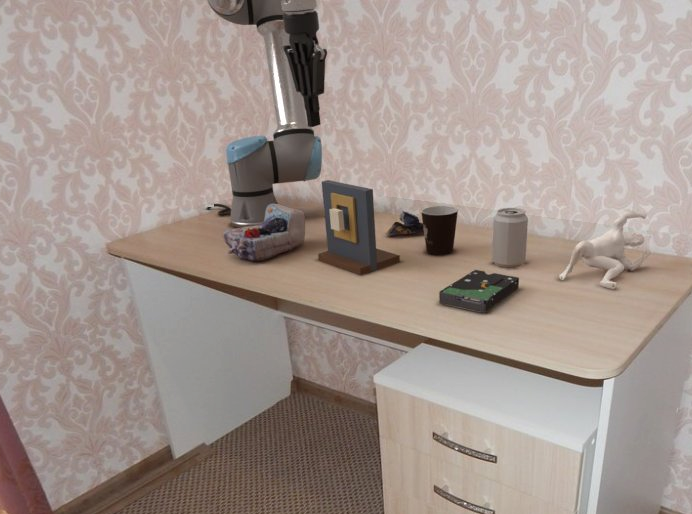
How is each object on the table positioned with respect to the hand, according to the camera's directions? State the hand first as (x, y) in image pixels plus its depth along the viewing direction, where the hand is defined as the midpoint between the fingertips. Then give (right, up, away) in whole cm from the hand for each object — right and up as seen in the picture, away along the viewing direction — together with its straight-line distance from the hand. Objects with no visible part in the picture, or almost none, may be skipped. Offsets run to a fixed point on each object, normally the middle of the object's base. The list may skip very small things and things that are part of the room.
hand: (314, 125), depth 148 cm
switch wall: (+10, -32, +1) cm, 34 cm away
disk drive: (+36, -44, -23) cm, 61 cm away
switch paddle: (+6, -26, -7) cm, 28 cm away
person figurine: (+64, -38, -14) cm, 75 cm away
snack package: (+23, -21, +19) cm, 37 cm away
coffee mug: (+30, -29, +5) cm, 42 cm away
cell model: (-13, -28, +10) cm, 33 cm away
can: (+45, -34, -6) cm, 57 cm away
